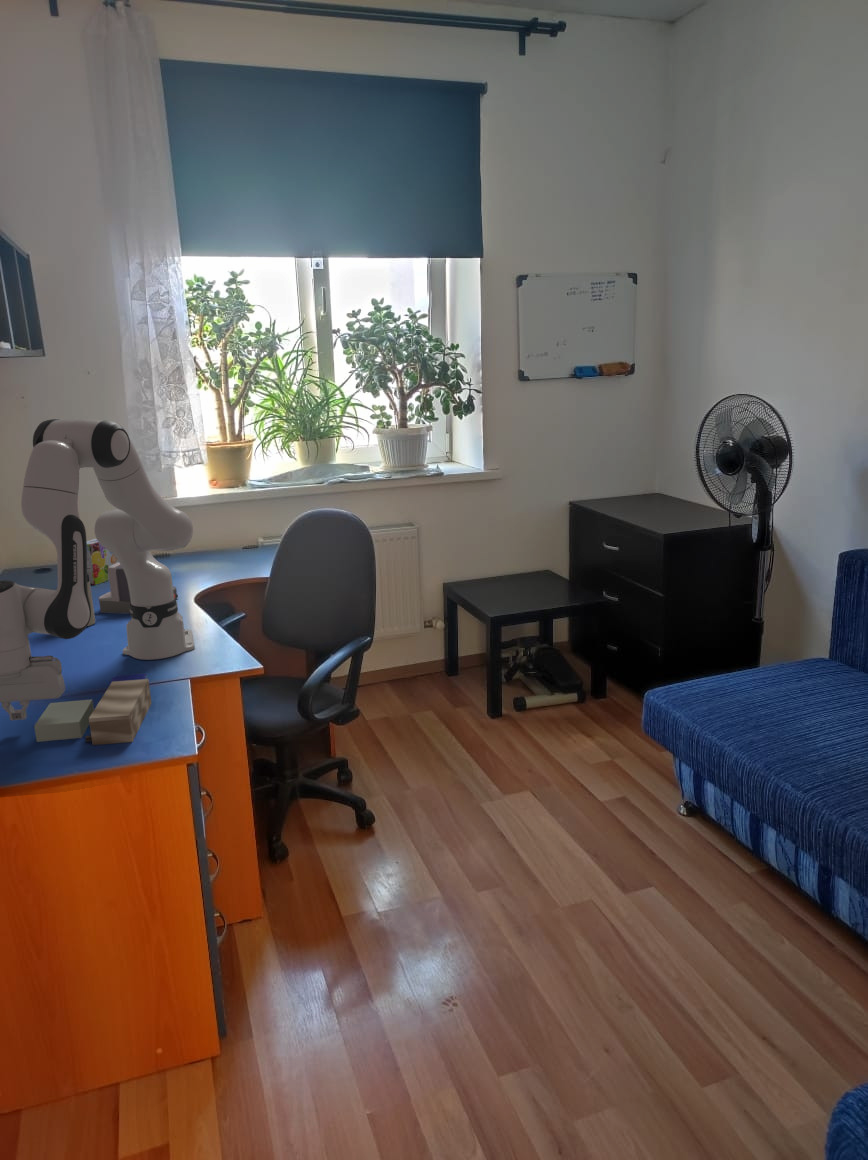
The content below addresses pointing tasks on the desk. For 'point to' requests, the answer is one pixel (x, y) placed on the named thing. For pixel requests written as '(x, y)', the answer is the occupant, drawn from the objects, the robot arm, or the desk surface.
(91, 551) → the snack box
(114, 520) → the robot arm
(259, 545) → the desk surface
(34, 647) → the desk surface
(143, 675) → the hard drive
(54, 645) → the desk surface
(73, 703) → the case
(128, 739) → the low shelf
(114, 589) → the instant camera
